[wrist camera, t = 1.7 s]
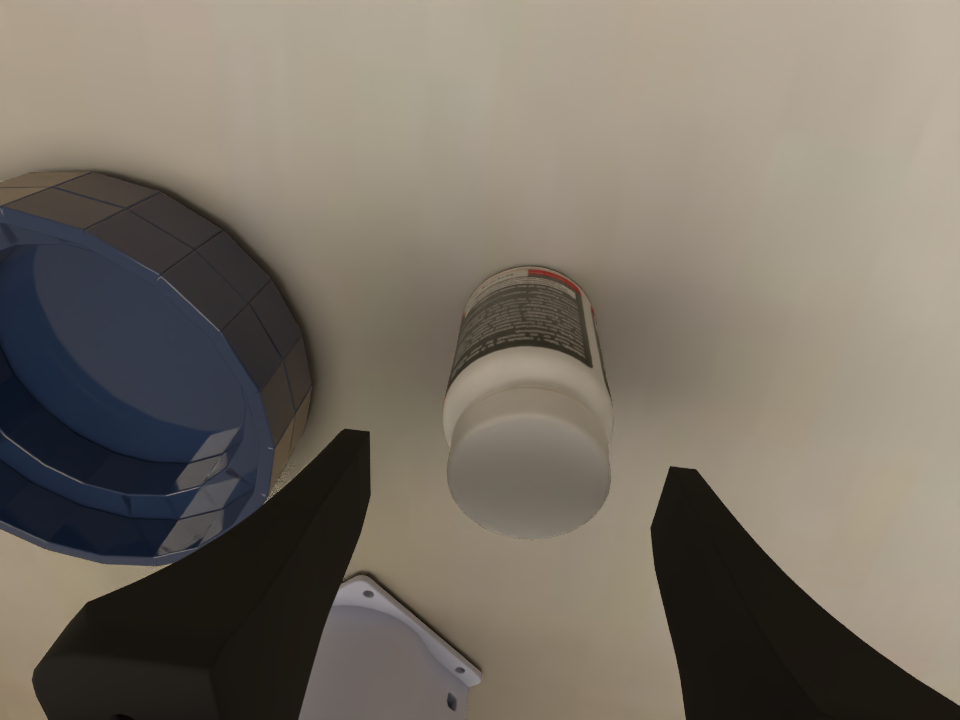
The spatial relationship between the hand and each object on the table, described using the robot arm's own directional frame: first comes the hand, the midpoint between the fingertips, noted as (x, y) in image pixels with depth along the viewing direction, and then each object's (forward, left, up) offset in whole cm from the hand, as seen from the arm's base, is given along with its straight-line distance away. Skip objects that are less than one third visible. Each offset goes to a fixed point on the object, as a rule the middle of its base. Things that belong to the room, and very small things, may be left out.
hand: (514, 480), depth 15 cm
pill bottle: (0, 0, -9) cm, 9 cm away
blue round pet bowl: (+8, +13, -8) cm, 17 cm away
